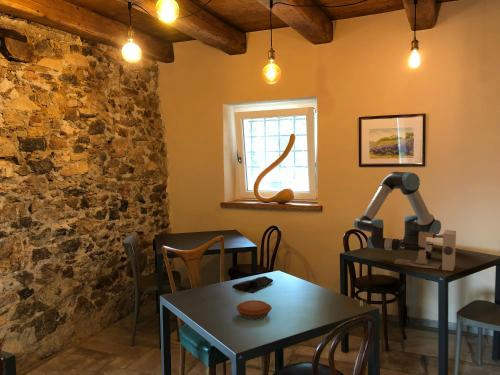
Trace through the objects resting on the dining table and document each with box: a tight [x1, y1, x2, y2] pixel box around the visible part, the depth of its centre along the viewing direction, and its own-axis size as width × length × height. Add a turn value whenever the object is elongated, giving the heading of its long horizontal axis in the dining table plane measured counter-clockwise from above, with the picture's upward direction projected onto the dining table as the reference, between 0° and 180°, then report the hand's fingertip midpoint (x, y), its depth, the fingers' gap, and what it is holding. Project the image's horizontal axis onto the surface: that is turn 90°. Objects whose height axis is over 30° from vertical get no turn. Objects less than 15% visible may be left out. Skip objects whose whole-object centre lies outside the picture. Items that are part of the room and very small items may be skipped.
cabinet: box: [441, 229, 457, 272], centre depth 263 cm, size 13×6×22 cm, turn 150°
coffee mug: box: [426, 240, 434, 260], centre depth 290 cm, size 12×9×10 cm
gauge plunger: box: [432, 233, 443, 239], centre depth 265 cm, size 3×10×3 cm, turn 60°
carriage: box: [415, 232, 434, 264], centre depth 270 cm, size 7×9×19 cm
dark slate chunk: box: [231, 276, 274, 294], centre depth 232 cm, size 15×22×5 cm
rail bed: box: [393, 258, 442, 270], centre depth 273 cm, size 11×26×1 cm, turn 60°
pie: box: [235, 299, 273, 320], centre depth 192 cm, size 16×16×5 cm
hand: (431, 248), depth 268 cm, fingers closed on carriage, 4 cm apart
